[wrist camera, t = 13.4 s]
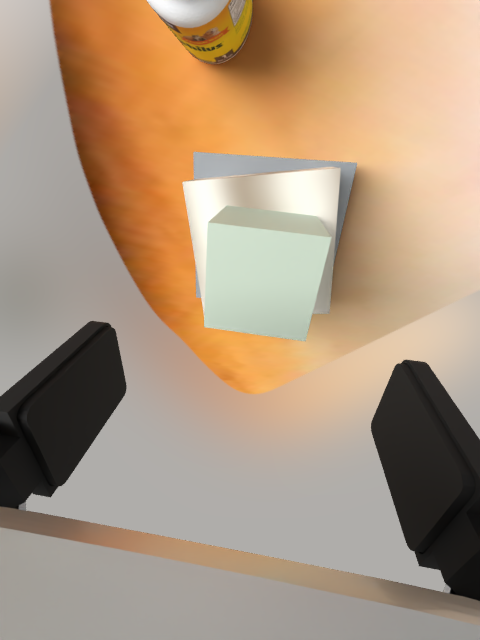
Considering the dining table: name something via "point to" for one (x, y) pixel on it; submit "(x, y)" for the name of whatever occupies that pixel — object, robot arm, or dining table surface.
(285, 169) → the base block
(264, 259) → the sage block
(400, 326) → the dining table surface
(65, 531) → the robot arm
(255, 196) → the top block
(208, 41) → the supplement bottle
